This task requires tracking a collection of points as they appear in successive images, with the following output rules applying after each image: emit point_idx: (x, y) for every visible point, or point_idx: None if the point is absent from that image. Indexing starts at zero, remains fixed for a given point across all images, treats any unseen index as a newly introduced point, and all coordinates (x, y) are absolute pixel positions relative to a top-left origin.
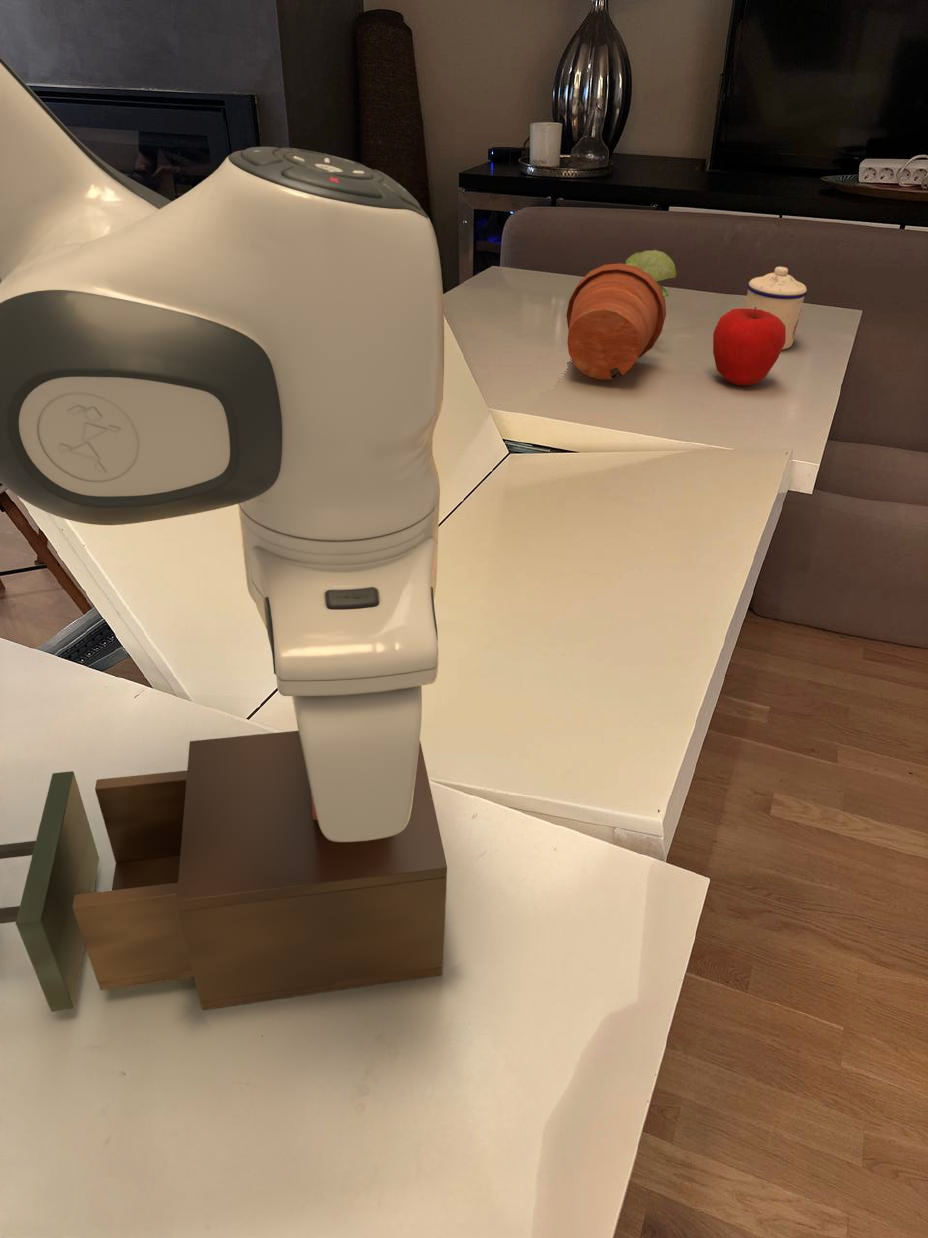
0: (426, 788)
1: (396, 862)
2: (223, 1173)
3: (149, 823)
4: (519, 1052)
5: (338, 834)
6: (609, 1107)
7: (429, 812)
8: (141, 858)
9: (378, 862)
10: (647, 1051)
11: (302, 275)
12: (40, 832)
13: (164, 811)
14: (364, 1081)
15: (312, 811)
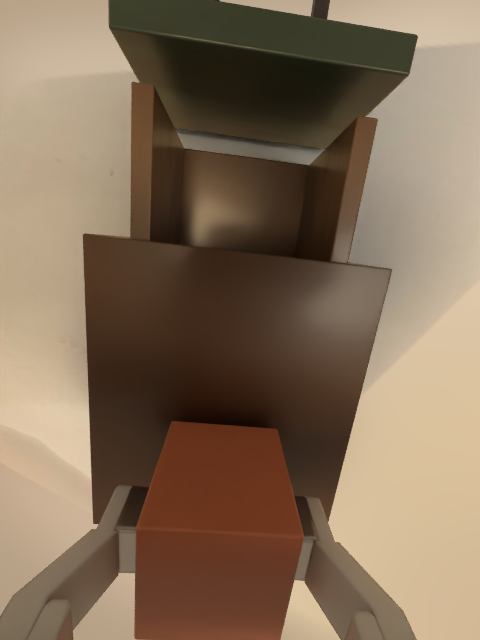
0: None
1: (108, 482)
2: (26, 245)
3: (317, 201)
4: (86, 439)
5: None
6: (45, 474)
7: None
8: (305, 192)
9: (109, 466)
10: (76, 502)
11: None
12: (286, 17)
13: (319, 221)
14: (80, 345)
15: (170, 429)
